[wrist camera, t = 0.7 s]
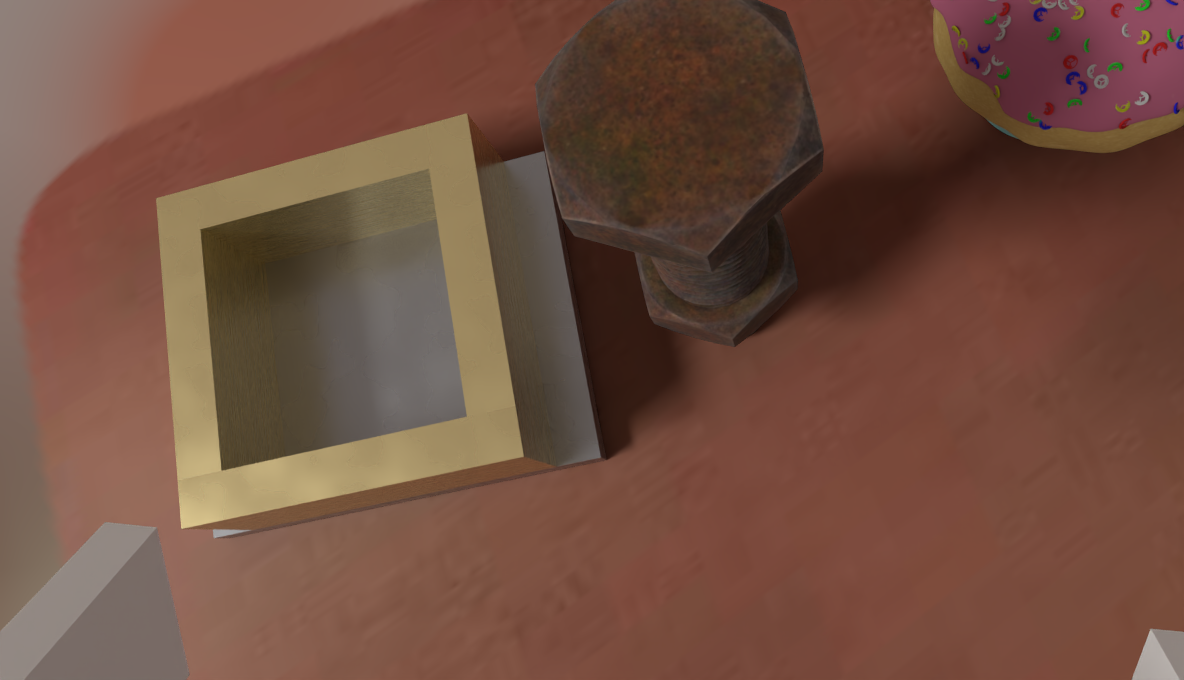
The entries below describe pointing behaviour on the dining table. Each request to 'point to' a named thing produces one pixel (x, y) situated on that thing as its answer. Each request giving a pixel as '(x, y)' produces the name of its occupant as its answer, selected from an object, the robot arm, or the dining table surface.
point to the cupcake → (1067, 68)
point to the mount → (370, 331)
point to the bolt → (686, 153)
